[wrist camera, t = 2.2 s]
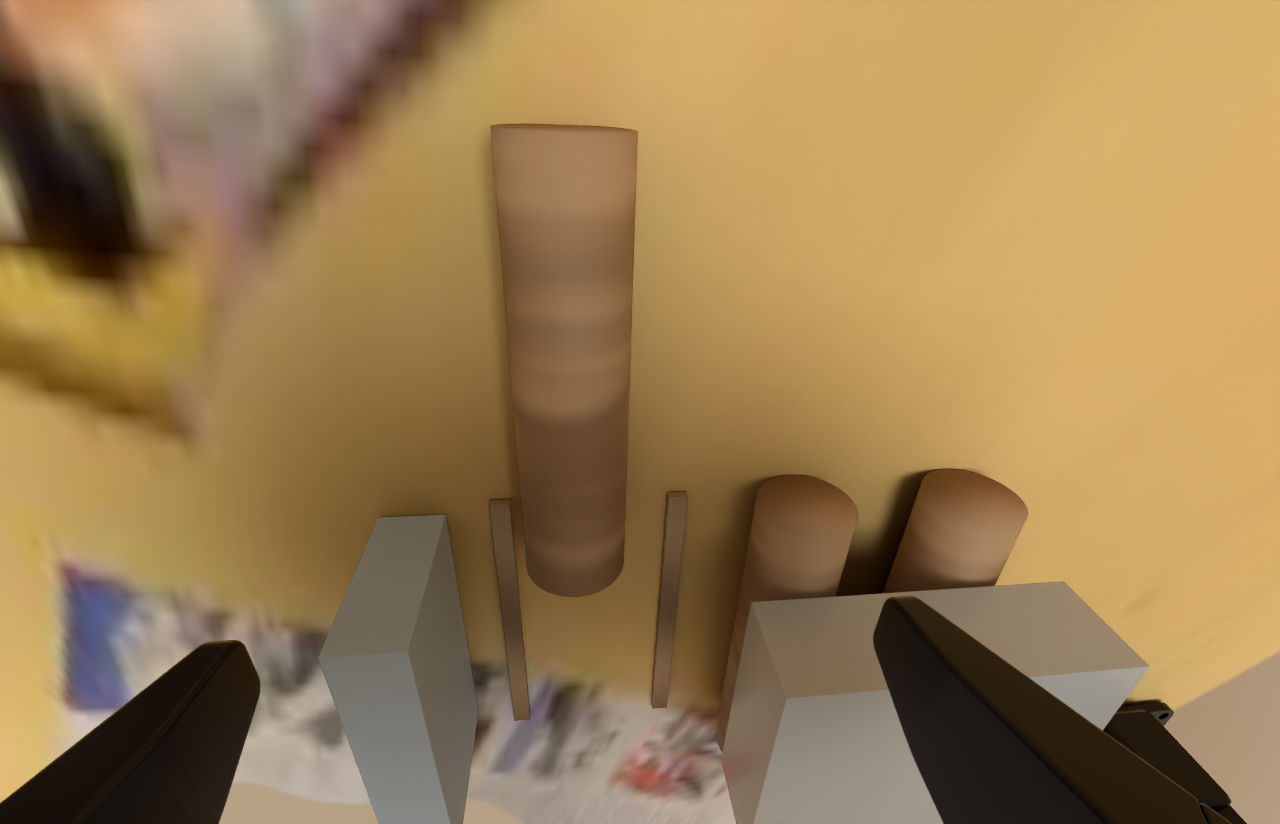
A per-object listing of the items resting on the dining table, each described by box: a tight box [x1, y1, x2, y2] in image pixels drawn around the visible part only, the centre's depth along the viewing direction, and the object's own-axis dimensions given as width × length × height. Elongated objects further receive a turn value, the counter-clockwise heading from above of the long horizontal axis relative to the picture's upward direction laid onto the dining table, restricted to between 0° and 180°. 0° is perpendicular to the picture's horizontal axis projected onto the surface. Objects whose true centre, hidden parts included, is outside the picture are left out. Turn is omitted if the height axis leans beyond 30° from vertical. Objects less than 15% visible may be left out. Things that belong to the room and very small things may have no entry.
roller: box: [490, 124, 638, 597], centre depth 15 cm, size 12×3×3 cm, turn 178°
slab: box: [721, 581, 1150, 824], centre depth 18 cm, size 8×10×3 cm
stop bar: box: [318, 515, 478, 824], centre depth 18 cm, size 10×2×5 cm, turn 178°
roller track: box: [489, 469, 1028, 753], centre depth 20 cm, size 12×17×3 cm
